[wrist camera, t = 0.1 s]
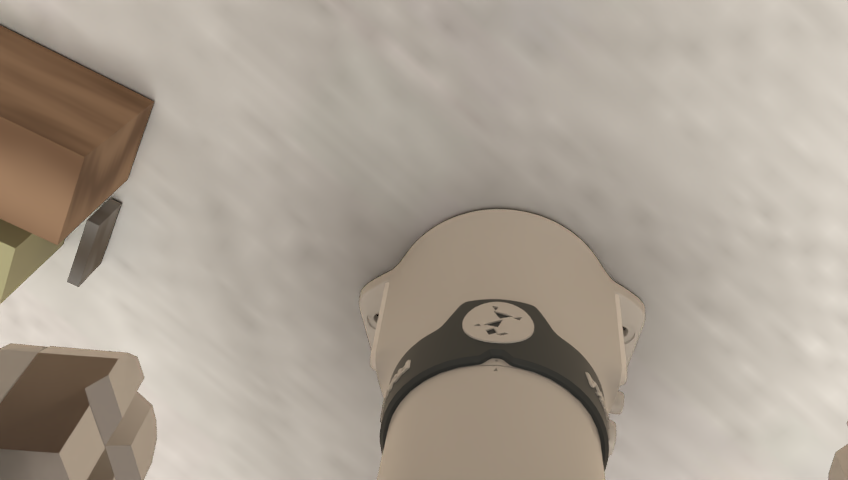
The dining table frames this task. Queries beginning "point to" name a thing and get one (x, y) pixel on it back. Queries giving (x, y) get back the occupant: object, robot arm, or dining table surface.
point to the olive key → (20, 256)
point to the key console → (64, 147)
